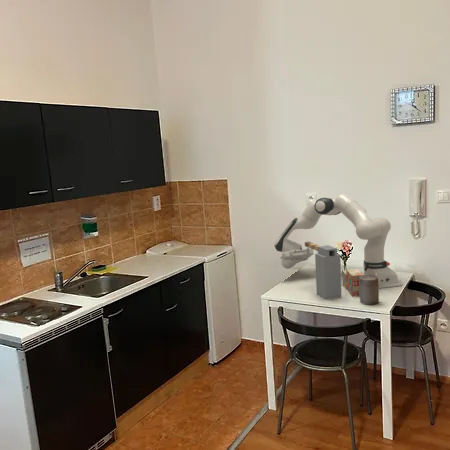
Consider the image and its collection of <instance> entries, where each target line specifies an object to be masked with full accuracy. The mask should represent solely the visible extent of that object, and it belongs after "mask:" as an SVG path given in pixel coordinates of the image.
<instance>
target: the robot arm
mask: <svg viewBox="0 0 450 450" xmlns="http://www.w3.org/2000/svg"><path fill="white" fill-rule="evenodd" d="M339 214H342V215H343V216H344V217H346V219H348V220H349V221H350V222H351V223H352V224H353V226H354V227H355V233H356V236H357V237H358V238H359V239H360V240H364V241H365V240H366V241H367V242H366V243H365V246H364V248H363V253H364V259H363V275H375V276H377V277H378V287H379V289H383V288H385V289H386V288H392V287H394V288H395V287H401V286H403V282H402V280H400V279H399V277H398V274H397V272H396V271H394V270H393V269H391V268H390V267H389V266H390V265H391V263H390V262H389V261H387V260H385V244H386V240H387V236H388V234H389V232H390V231H391V229H392V225H391V222H390V221H389V220H388V219H387V218H385V217H376V218H370V217H369V216H368V215H367V210H366V208H365V207H364V206H363V205H361V204H360V203H359V202H358V201H357V200H355V199H354V198H353V197H351V196H349V195H348V194H346V193H340V194H338V195H337V196H336V197H320V198H318V199H316V200H315V199H314V200H311V201H310V202H309V203H308V204H307V206H306V207H305V209H304V210H303V213H302V214H301V215H300V216H299V217H295V218H294V219H292V221H290V223H289V224H288V225H287V227H286V228H285V229H284V231H283V232H282V233H281V234H280V236H278V238H276V240H275V242H274V245H273V246H274V248H275V251H277V252H280V253H282V254H281V256H280V257H279V258H280V261H281V262H280V263H281V266H282V267H283V268H284V269H291V268H294V266H296V265H297V264H299V263H301V262H304V261H307V260H309V258H311V256H313V255H315V253H314V250H313V249H311V248H308V247H306V248H303V247H302V244H300V243H298V242H296V241H293V240H291V239H288V238H289V237H290V235H291V234H292V233H293V231H296V230H310V229H311V230H312V228H315V227H316V225H317V224H318V222H319V220H320V218H321V217H322V215H323V216H336V215H339Z"/></svg>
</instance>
